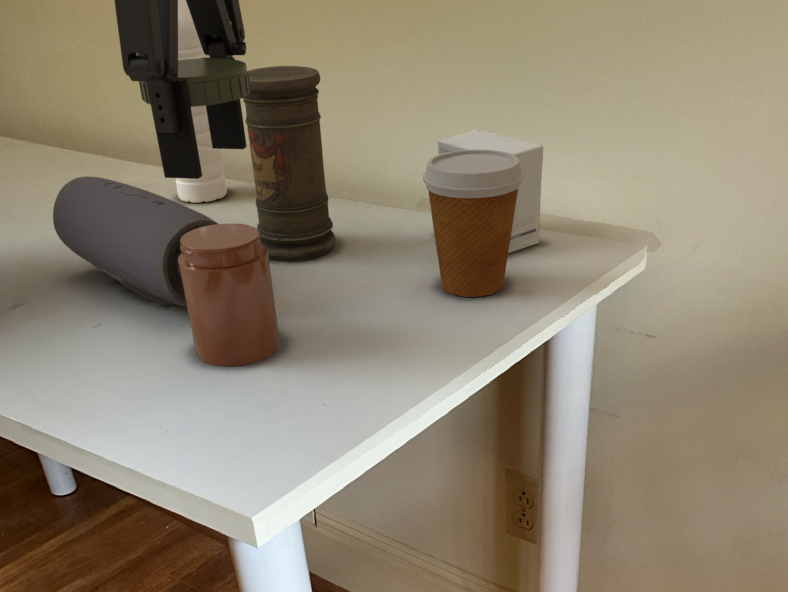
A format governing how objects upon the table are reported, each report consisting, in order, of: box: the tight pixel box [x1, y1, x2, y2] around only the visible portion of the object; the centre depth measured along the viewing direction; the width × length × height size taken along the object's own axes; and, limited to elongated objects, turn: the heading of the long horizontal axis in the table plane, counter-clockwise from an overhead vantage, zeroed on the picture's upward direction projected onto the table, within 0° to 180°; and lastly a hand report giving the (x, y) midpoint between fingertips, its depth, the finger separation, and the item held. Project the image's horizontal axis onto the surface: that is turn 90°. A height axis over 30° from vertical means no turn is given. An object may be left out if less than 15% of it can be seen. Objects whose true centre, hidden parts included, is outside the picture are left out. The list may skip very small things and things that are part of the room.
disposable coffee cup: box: [422, 150, 524, 298], centre depth 86 cm, size 10×10×12 cm
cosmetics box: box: [437, 128, 544, 254], centre depth 98 cm, size 10×6×10 cm, turn 37°
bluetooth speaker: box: [52, 176, 219, 308], centre depth 89 cm, size 23×9×10 cm, turn 43°
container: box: [241, 65, 336, 262], centre depth 95 cm, size 9×9×18 cm
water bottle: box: [175, 0, 228, 204], centre depth 111 cm, size 9×6×25 cm
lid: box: [138, 57, 251, 107], centre depth 66 cm, size 8×8×2 cm
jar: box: [178, 223, 281, 367], centre depth 77 cm, size 8×8×10 cm
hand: (207, 161), depth 69 cm, fingers closed on lid, 8 cm apart
